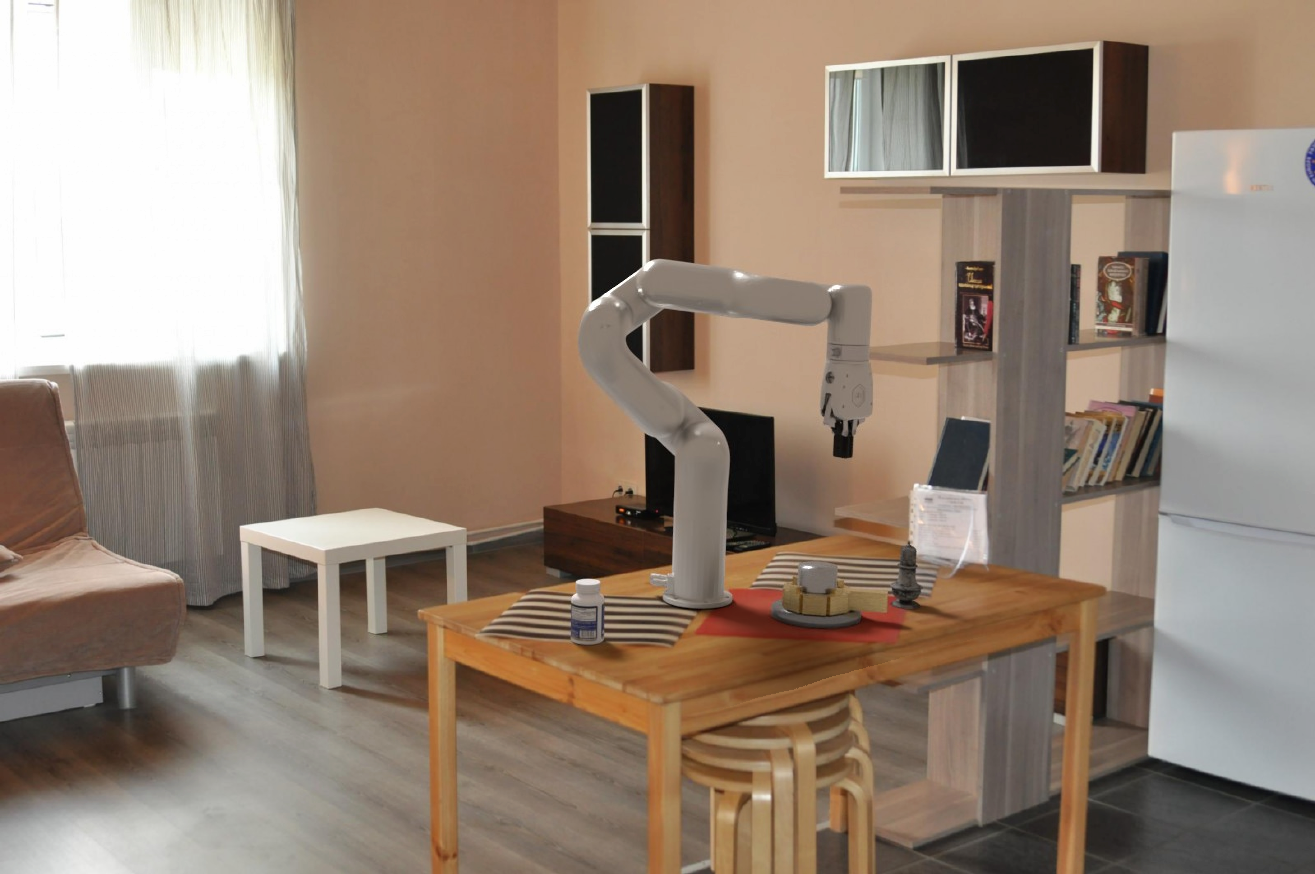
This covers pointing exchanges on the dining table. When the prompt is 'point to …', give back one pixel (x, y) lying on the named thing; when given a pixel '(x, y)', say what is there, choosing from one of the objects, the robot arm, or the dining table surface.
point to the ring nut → (833, 599)
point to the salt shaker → (906, 580)
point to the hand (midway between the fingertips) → (842, 457)
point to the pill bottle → (587, 613)
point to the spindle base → (815, 581)
